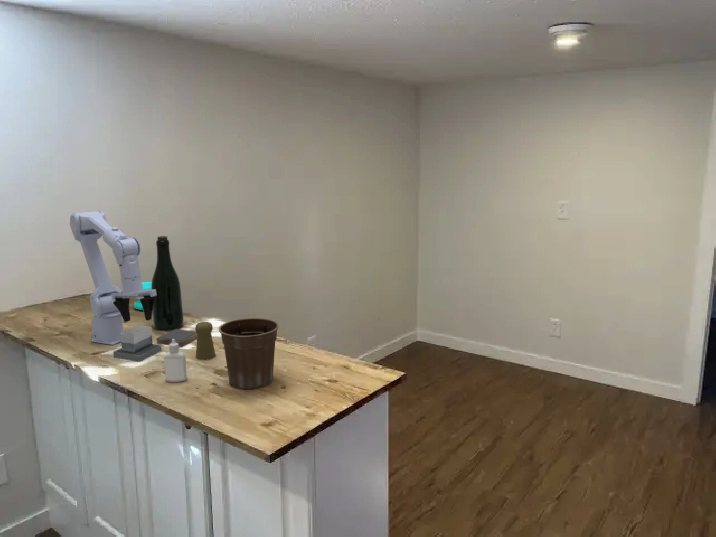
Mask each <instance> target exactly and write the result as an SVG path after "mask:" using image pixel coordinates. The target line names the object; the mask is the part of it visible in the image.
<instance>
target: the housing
mask: <svg viewBox="0 0 716 537" xmlns="http://www.w3.org/2000/svg"><path fill="white" fill-rule="evenodd" d="M120 335H121V342H120V344H121V348H122V351H124V352H130V353H137V352H139V351H141V350H143V349H145V348H147V347H149V346H151V345H153V344H154V343H153V331H152V326H148V325H140V324H139V325H135V326H133V327H131V328H129V329H126V330H123V332H121V333H120Z"/></svg>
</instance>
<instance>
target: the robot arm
mask: <svg viewBox="0 0 716 537" xmlns="http://www.w3.org/2000/svg"><path fill="white" fill-rule="evenodd" d="M69 226H70V230H71V233H72V235H73V237H74V241H77V242H79V243H80V246H81V249H82V252H83V254H84V258H85V260H86V264H87V266H88V269H89V272H90V275H91V279H92V281H93V284H94V288H95V289H94V290H93V291H92V292H91V294H90V296H89V301H90V310H91V311H92V314H93V317H92V319H91V322H90V325H91V331H92V334H91V335H92V339H91V340H90V341H92V343H99V344H105V345H111V346H114V345H116V344H118V343H121V335H120V333H121V332H123V331H124V325H123V322H124V323H127V322H130V321H131V315H130V314H131V313H130V300H131V299H136V298H139V300H140V302H141V304H142V306H143V309H144V311H143V313H144V318H145V320H146V321H150V320H153V313H152V310H153V305H154V302H155V300H156V295H157V294H156V289H153V290H143V286H142V282H143V280H142V274H141V268H140V260H139V256H140V254H141V245H140V242H139V241H138V239H137V237H136V236H135V237H128V236H127V235H126V234H125V233H124V232H123V231H121V230H120V229H119V228H118V227H117V226H114V227H113V226H111V225H110V224H109V223H108V221H107V217H106V214H105V213H104V212H103V211H102V210H96V211H87V212H73V213H71V215H70V217H69ZM100 238H102V239H103V242H104V243H106V244H107V246H109V247H110V248H111V249H112V253H113V255H114V258H115V262H116V264H117V265H118V267H119V273H120V280H121V286H122V290H121V288H120V287H119V286H116V285H114V284H113V283H112V282H111V279H110V276H109V273H108V270H107V267H106V264H105V262H104V258H103V256H102V252H101V249H100V247H99V244H98V240H100Z"/></svg>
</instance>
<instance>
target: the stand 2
mask: <svg viewBox="0 0 716 537" xmlns="http://www.w3.org/2000/svg"><path fill="white" fill-rule="evenodd" d="M172 339H175V342H176V343H178V345H179V348H183V347H185V346H187V345H189V344H191V343H192V342H194V341H197V333H196V331H193V330H187V329H186V330H185V329H179V328H176V329H172V330H171V331H169V332H167V333H164V334H162V335H160V336H158V337H156V344H158V345H160V344H161V345H166V346H167V345H168V346H169V344H171V343H172Z"/></svg>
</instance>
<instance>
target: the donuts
mask: <svg viewBox="0 0 716 537" xmlns="http://www.w3.org/2000/svg"><path fill="white" fill-rule="evenodd" d="M151 283H152V281H142V286H143V290H151ZM133 308H134V309H135V308H136V309H140V310H144V309H143V306H142V304H141V302H140V299H138V300H136V301H135V302H134V303H133ZM136 309H135V310H136Z"/></svg>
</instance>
